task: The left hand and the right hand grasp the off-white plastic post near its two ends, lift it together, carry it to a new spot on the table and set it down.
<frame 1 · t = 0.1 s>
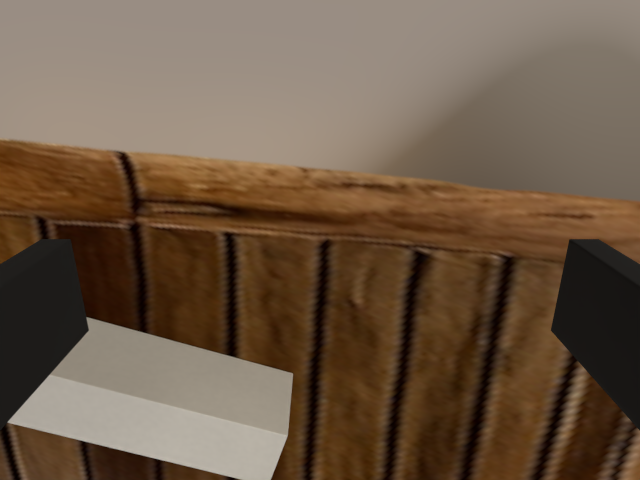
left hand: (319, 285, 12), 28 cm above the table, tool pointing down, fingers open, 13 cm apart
post: (41, 330, 45), on the table
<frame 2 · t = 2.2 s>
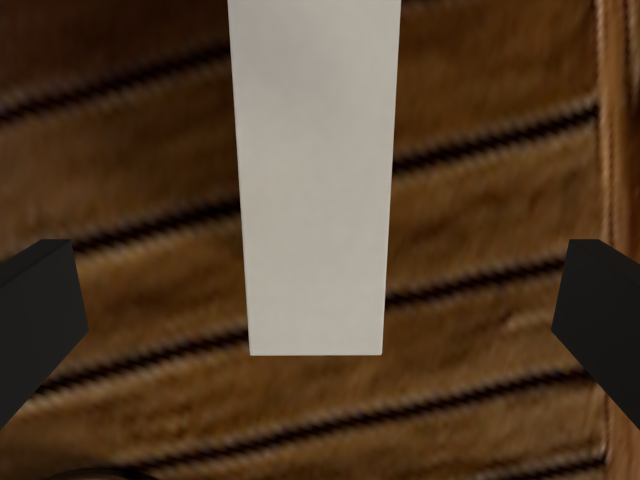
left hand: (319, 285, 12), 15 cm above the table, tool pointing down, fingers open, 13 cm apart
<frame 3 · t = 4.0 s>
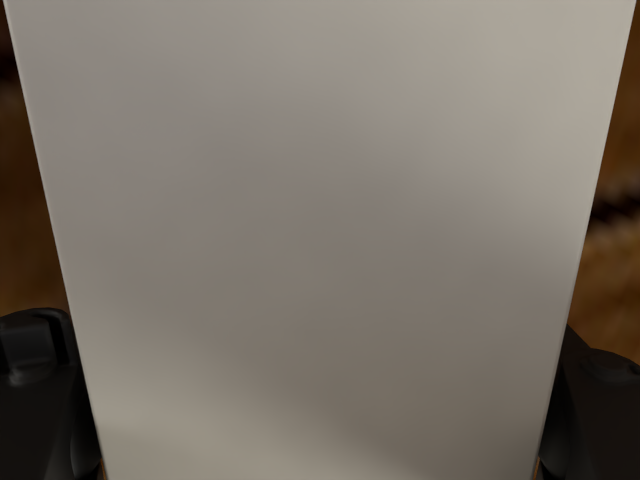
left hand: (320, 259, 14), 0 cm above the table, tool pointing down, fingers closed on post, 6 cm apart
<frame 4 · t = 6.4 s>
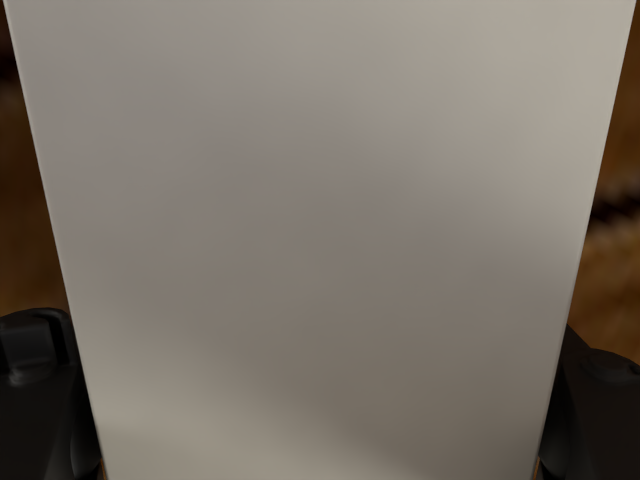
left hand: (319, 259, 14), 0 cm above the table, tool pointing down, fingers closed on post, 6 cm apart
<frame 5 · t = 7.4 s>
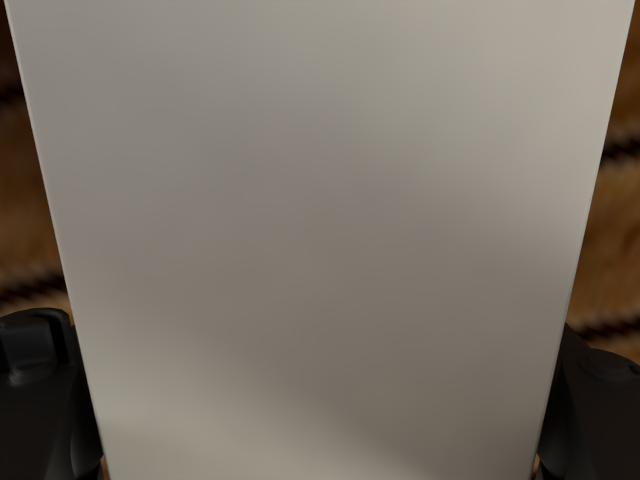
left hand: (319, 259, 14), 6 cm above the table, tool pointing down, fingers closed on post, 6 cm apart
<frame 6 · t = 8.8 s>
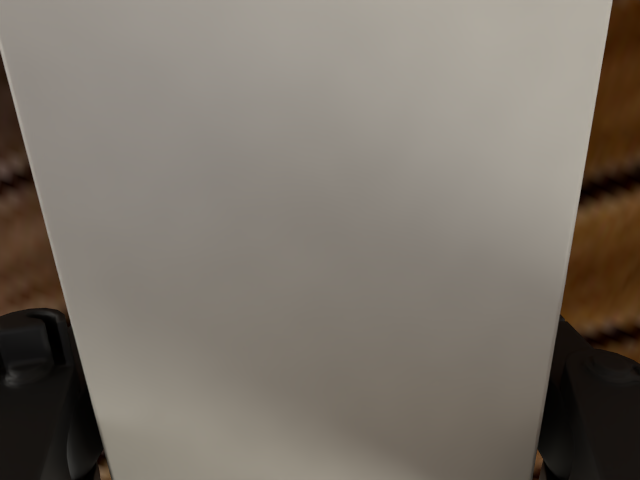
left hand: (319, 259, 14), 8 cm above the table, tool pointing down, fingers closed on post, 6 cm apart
when the left hand's fingers open (2 cm above the table, at t = 11.1 s): post drops 1 cm, on the table.
when the right hand's fingers open (2 cm above the table, at t = 11.1 s): post drops 1 cm, on the table.
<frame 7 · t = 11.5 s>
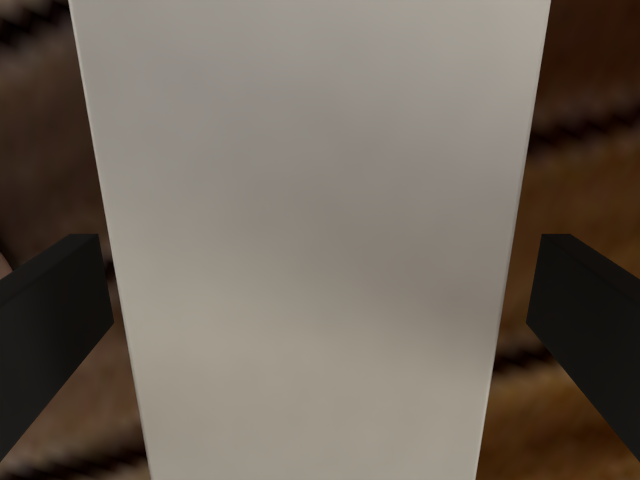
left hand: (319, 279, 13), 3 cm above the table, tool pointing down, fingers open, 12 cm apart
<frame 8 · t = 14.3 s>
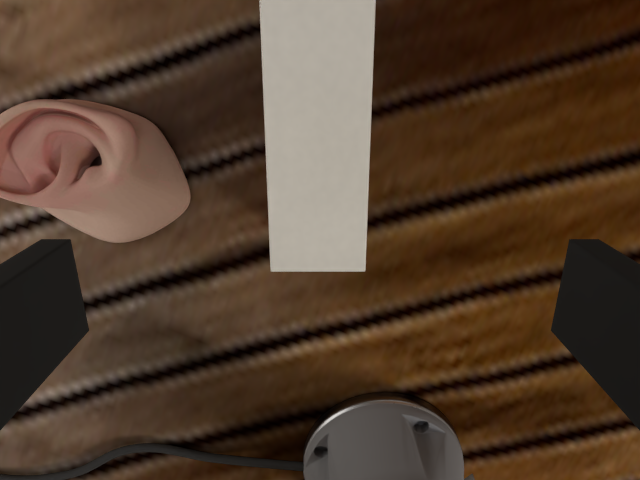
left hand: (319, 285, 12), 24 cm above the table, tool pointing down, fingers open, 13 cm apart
anatomical model: (101, 170, 35), on the table
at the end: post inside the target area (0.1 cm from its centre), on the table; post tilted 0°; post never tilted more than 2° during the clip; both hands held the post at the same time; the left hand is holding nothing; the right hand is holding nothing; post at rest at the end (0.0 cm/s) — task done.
